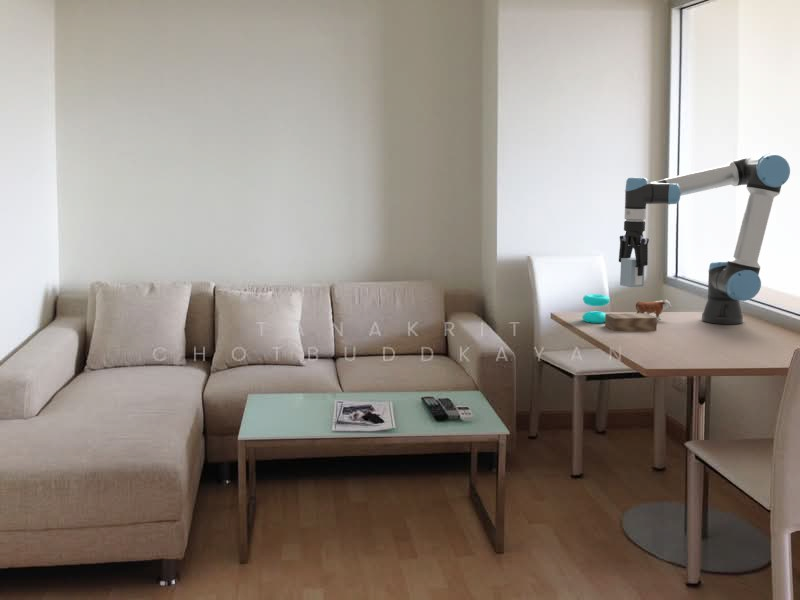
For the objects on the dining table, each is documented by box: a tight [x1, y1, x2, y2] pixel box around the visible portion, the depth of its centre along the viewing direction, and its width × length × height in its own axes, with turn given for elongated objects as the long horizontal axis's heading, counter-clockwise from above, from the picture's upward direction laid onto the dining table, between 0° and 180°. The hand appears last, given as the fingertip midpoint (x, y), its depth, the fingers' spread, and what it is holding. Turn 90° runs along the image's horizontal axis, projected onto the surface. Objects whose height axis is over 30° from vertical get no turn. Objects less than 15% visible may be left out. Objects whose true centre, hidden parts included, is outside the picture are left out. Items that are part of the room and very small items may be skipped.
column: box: [619, 257, 646, 288], centre depth 352 cm, size 6×6×10 cm
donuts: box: [581, 293, 611, 324], centre depth 369 cm, size 10×10×10 cm
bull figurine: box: [635, 299, 672, 322], centre depth 372 cm, size 4×13×8 cm, turn 81°
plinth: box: [604, 312, 658, 332], centre depth 355 cm, size 16×10×5 cm, turn 97°
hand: (632, 283), depth 353 cm, fingers closed on column, 6 cm apart
